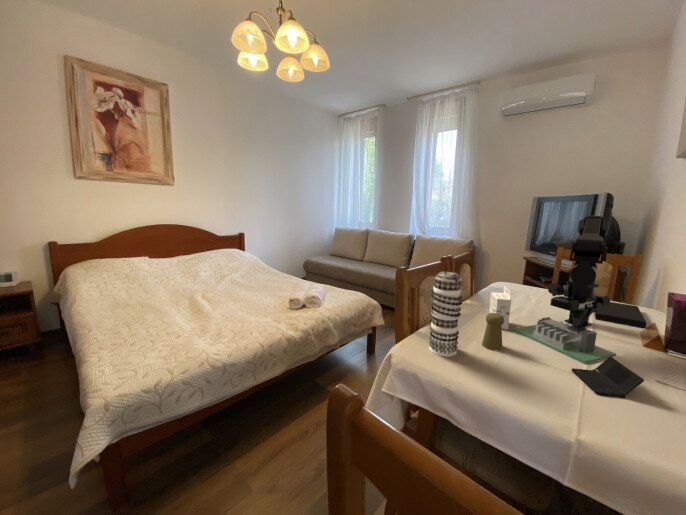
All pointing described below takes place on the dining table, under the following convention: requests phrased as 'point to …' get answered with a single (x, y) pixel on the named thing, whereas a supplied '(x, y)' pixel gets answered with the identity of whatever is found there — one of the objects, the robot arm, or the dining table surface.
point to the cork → (493, 332)
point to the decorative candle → (445, 314)
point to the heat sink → (565, 337)
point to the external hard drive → (621, 314)
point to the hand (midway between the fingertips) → (576, 327)
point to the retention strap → (562, 325)
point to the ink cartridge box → (501, 305)
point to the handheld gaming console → (609, 379)
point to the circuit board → (571, 352)
